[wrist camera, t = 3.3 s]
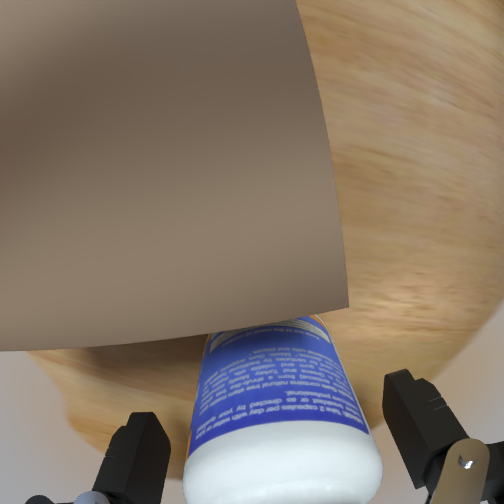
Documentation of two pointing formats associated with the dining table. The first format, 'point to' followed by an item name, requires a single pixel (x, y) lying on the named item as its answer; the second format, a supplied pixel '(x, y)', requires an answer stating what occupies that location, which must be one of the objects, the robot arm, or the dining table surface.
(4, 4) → the walnut block
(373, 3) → the dining table surface
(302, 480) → the pill bottle
